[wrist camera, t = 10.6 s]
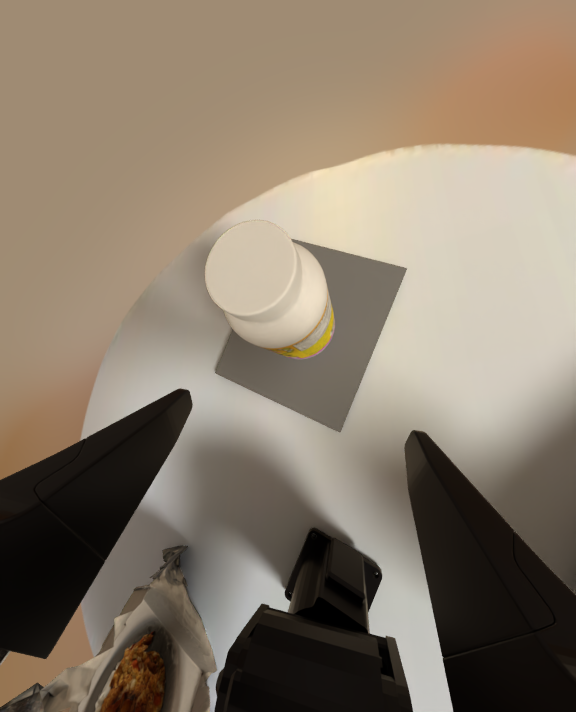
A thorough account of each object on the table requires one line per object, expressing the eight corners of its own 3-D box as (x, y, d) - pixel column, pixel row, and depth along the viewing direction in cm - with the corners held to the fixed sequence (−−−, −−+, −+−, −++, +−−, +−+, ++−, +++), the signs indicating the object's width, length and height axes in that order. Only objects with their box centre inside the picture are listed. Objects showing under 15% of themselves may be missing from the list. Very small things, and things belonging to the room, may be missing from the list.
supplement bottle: (256, 327, 25) (162, 272, 12) (302, 280, 24) (251, 172, 12) (300, 374, 23) (241, 366, 11) (351, 326, 22) (351, 255, 10)
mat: (340, 431, 22) (340, 432, 21) (217, 373, 26) (214, 373, 25) (405, 270, 22) (407, 268, 22) (273, 236, 26) (272, 233, 25)
